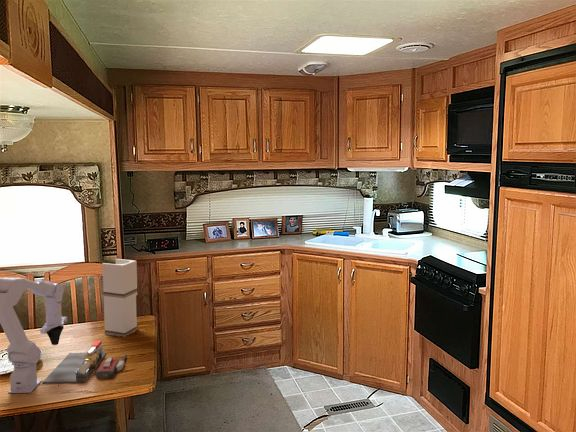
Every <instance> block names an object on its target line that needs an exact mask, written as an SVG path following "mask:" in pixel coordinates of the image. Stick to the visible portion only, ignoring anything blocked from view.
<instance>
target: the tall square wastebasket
mask: <svg viewBox="0 0 576 432" xmlns="http://www.w3.org/2000/svg"><path fill="white" fill-rule="evenodd" d="M137 263H138V262H137V260H133V259H122V258H115V263H109V262H108V263H105V262H102V266H101V267H102V292H103V316H104V320H103V321H104V323H103V324H104V334H105V335H107V334H108V335H109V336H114V335H116V336H115V337H120V336H123V337H122V338H126V337H128V336H129V334H130V333H131V334H133V333H134V332H133V331H135V330H136V329H138V330H139V325H138V320H137V296H138V271H137V270H138V266H137V265H138V264H137ZM132 332H133V333H132ZM135 332H136V331H135ZM131 334H130V335H131ZM127 335H128V336H127ZM125 336H126V337H125Z"/></svg>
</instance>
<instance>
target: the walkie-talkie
mask: <svg viewBox="0 0 576 432" xmlns="http://www.w3.org/2000/svg"><path fill="white" fill-rule="evenodd" d="M126 357H127V354H126V353H124V354H123V357H122V359H120V360H119V358H118V359H117V358H114V357H107V358H105V359H102V360H101V362H100V363H99V364H100V365H99V366H98V368H97V370H96V372H95V377H96V379H108V378H109V379H110V378H114V376H115V374H116V372H119V371H121V370H122V369H123V368H124V367H125V360H126Z"/></svg>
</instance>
